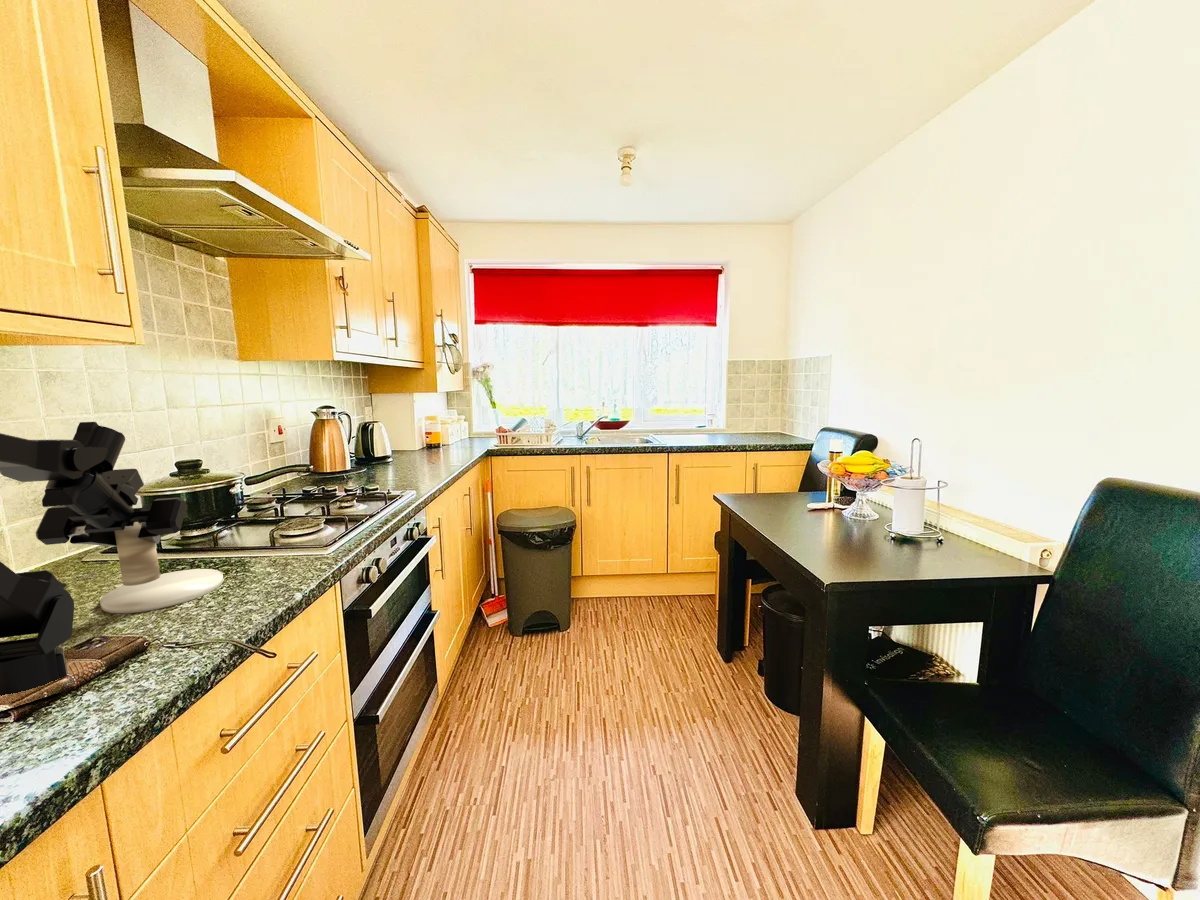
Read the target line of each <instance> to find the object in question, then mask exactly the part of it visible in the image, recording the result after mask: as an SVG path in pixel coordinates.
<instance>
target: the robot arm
mask: <svg viewBox="0 0 1200 900" xmlns="http://www.w3.org/2000/svg"><path fill="white" fill-rule="evenodd" d="M125 442H126V437H125V434H123V432H121V431H118V430H115V429H113V428H110V427H107V426H102V425H99V424H98V423H97V422H96V421H81V422H79V423H78V425H77V427H76V431H75V434H74V435H73V437H72V439H27V438H23V437H18V436H14V435H10V434H5V433H1V432H0V475H1V476H3V477H6V478H9V479H12V480H15V481H18V482H20V483H28V482H29V483H32V482H33V483H34V482H44V481H45V482H47V483H46V486H45V489H44V495H43V497H42V499H41V504H42V505H41V506H42V507H44V508H47V509H46V510H45V512H44V514H43V516H42V518H41V519H40V522H39V525H38V527H37V529H36V530H35V537H36V539H37V540H38V541H39V542H41V543H42V544H43V545H45V546H48V545H58V544H59V545H60V544H66V543H67V542H69V543H70V544H72V545H76V544H77V545H93V546H106V547H116V548H117V544H116V537H115V531H117V530H124V528H125V527H132V526H133V525H134V522H138V523H139V524H140V525H142V526H141V529H140V532H139V535H138V538H140V539H143V540H146V541H149V542H152V543H155V545H156V544H157V545H158V544H160V541H161V535H169V534H170V535H171V534H177V533H178V532H180V531H181V528H182V525H183V522H184V519H185V515H186V511H187V509H188V504H187V502H186V501H185V500H184V499H183V498H181V497H179V496H178V497H166V498H165V497H163V498H156V499H154V500H153V501H152V503H147V504H144V505H143V506H141V507H136V508H135V507H134V508H133V506H137V504H138V502H139V497H138V496H136V494H137V493H138V491H140V489H142V488H143V487H144V486H145V485H144V484H145V483H144V482H143V479H142V477H141V474H140V473H139V471H138V469H136V468H124V469H123V468H121V469H120V468H119V469H114V468H115V465H116V463H117V460H118V458H119V456H120V453H121V451H122V449H123V447H124V444H125ZM66 587H67V583H64V582H61V581H59V580H58V579H57V577H56V576H55V575H54V574H53V572H50V571H48V570H38V571H35V570H34V571H27V572H17V573H16V572H14V570H12V569H10V568H9V567H8V566H7V565H6V564H5V563H3V562H2V561H0V639H3V638H4V639H5V638H11V637H21V636H27V635H29V636H30V635H35V634H37V636H35V637H28V638H21V639H13V640H5V641H0V695H1V696H2V695H5V694H11V693H12V694H13V693H18V692H21V691H26V690H29V689H32V688H36V687H38V686H42V685H45V684H47V683H49V682H51V681H55V680H57V679H59V678H62V677H64V676H66V675H67V673H68V668H67V669H66V667H67V662H66V657H65V652H64V648H63V647H59V646H60V645H62V644H64V643H66V642H67V641H68V640H69V639H71V638H72V636H73V635H72V634H73V625H74V616H75V615H74V614H75V613H74V612H75V601H74V599H73V597H72V596H71V593H70V592H69V591H68V590H67V589H65V588H66Z"/></svg>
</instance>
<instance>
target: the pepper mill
mask: <svg viewBox="0 0 1200 900" xmlns="http://www.w3.org/2000/svg"><path fill="white" fill-rule="evenodd" d="M141 526H142V525H140V524H139V523H138V522H134V525H133V526H132V527H125V528H124V530H117V531H115V537H116V544H117V547H116V550H117V554H118V562H119V566H120V573H121V579H122V586H123V585H125V586H133V585H140V584H145V583H148V582H152V581H154V580H157V579H158V578H160V574H161V572H160V566H159V559H158V551H157V546H156V543H152V542H149V541H146V540H143V539H140V538H138V535H139V532H140V529H141Z"/></svg>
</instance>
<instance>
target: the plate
mask: <svg viewBox="0 0 1200 900" xmlns="http://www.w3.org/2000/svg"><path fill="white" fill-rule="evenodd" d="M223 583H224V576H223V572H222V571H220V570H217V569H212V568H195V569H194V568H193V569H184V570H177V571H170V572H166V573H160V578H158V579H157V580H154V581H152V582H148V583H145V584H140V585H133V586H125V585H123V584H122V585H121V586H118V587H117V588H114V589H112V590H110V591H109V592H107V593H105V594H104V595H102V597H101V598H100V599H99V603H100V609H101V611H103V612H105V613H110V614H135V613H142V612H149V611H154V610H158V609H164V608H168V607H172V606H175V605H179V604H182V603H186V602H190V601H192V600H195V599H198V598H200V597H202V596H206V595H207V594H209V593H212V592H213V591H215V590H217V589H218V588H219V587H220V586H221V585H222V584H223Z"/></svg>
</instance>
